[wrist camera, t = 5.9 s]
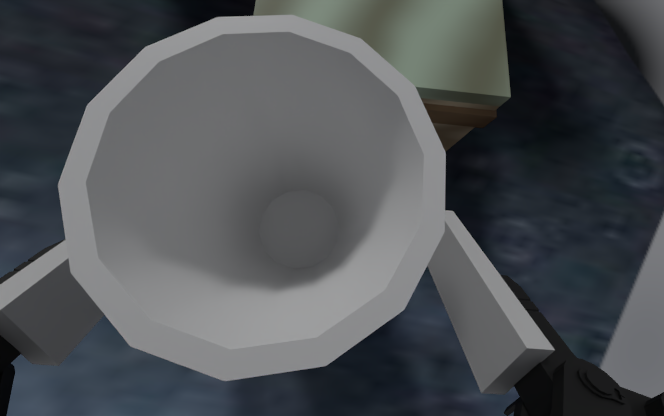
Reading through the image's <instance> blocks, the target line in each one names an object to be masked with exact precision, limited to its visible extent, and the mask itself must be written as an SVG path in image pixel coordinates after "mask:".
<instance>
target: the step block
mask: <svg viewBox="0 0 664 416" xmlns="http://www.w3.org/2000/svg"><path fill="white" fill-rule="evenodd" d="M266 15H295V16H298V17H300V18H303V19H306V20H309V21H312V22H315V23H318V24H321V25H324V26H326V27H329V28H332V29H335V30H338V31H341V32H344V33H347V34H349V35H352V36H355V37H358V38H361V39H362V40H363V41H364V42H365V43H367V44H368V45H369V46H370V47H371V48H372V49H373V50H375V51H376V52H377V53H378V54H379V55H380V56H381V57H383V58H384V59H385V60H386V61H387V62H388V63H389V64H391V65H392V66H393V67H394V68H395V69H396V70H397V71H399V72H400V73H401V74H402V75H403V76H404V77H405V78H407V79H408V80H409V81H410V82H411V83H412V84H413V85H414V86H415V87H416V89H417V91H418V94H419V96H420V98H421V100H422V102H423V104H424V107H425V109H426V111H427V113H428V115H429V117H430V120H431V122H432V124H433V126H434V128H435V130H436V133H437V135H438V137H439V139H440V141H441V143H442V146H443V148H444V150H445V152H446V151H447V150H448V149H449V148H451V147H452V146H453V145H454V144H455V143H457V142H458V141H459V140H460V139H461V138H463V137H464V136H465V135H466V134H467V133H469V132H470V131H471V130H472V129H473V128H475V127H477V128H484V127H485V126H486V125H487V124H489V123H490V122H491V121H492V120H494V119H495V118H496V117H497V113H496V109H497V108H498V107H500V106H501V105H502V104H503V103H504V102H506V101H507V100H508V99H509V98H510V97H511V93H510V82H509V71H508V60H507V49H506V37H505V26H504V15H503V4H502V0H256V3H255V9H254V15H253V16H266Z"/></svg>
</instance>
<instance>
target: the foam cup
mask: <svg viewBox="0 0 664 416" xmlns="http://www.w3.org/2000/svg"><path fill="white" fill-rule="evenodd" d="M445 175H446V152H445V150H444V148H443V146H442V143H441V141H440V139H439V137H438V135H437V133H436V130H435V128H434V126H433V124H432V122H431V120H430V117H429V115H428V113H427V111H426V109H425V107H424V104H423V102H422V100H421V98H420V96H419V94H418V91H417V89H416V87H415V86H414V85H413V84H412V83H411V82H410V81H409V80H408V79H407V78H405V77H404V76H403V75H402V74H401V73H400V72H399V71H397V70H396V69H395V68H394V67H393V66H392V65H391V64H389V63H388V62H387V61H386V60H385V59H384V58H383V57H381V56H380V55H379V54H378V53H377V52H376V51H375V50H373V49H372V48H371V47H370V46H369V45H368V44H367V43H365V42H364V41H363V40H362V39H361V38H358V37H355V36H352V35H349V34H347V33H344V32H341V31H338V30H335V29H332V28H329V27H326V26H324V25H321V24H318V23H315V22H312V21H309V20H306V19H303V18H300V17H298V16H295V15H266V16H234V17H216V18H214V19H211V20H209V21H207V22H204V23H202V24H199V25H197V26H195V27H192V28H190V29H187V30H185V31H183V32H180V33H178V34H175V35H173V36H171V37H168V38H166V39H164V40H161V41H159V42H156V43H154V44H152V45H149V46H147V47H145V48H144V49H143V50H142V51H141V52H140V53H139V54H138V55H137V56H136V57H135V58H134V59H133V60H132V61H131V62H130V63H129V64H128V65H127V66H126V67H125V68H124V69H123V70H122V71H121V72H120V73H119V74H118V75H117V76H116V77H115V78H114V79H113V80H112V81H111V82H110V83H109V84H108V85H107V86H106V87H105V88H104V89H103V90H102V91H101V92H100V93H99V94H98V95H97V96H96V97H95V98H94V99H93V100H92V101H91V102H90V103H89V104H88V105H87V107H86V110H85V112H84V115H83V118H82V120H81V123H80V126H79V129H78V131H77V134H76V137H75V139H74V142H73V145H72V148H71V150H70V153H69V156H68V158H67V161H66V164H65V167H64V169H63V172H62V175H61V177H60V180H59V183H58V189H59V196H60V203H61V210H62V217H63V224H64V231H65V238H66V244H67V251H68V258H69V265H70V272H71V274H72V275H73V276H74V278H75V279H76V280H77V281H78V283H79V284H80V285H81V286H82V287H83V289H84V290H85V291H86V292H87V294H88V295H89V296H90V297H91V298H92V300H93V301H94V302H95V303H96V305H97V306H98V307H99V308H100V310H101V311H102V312H103V313H104V314H105V316H106V317H107V318H108V319H109V321H110V322H111V323H112V324H113V326H114V327H115V328H116V329H117V330H118V332H119V333H120V334H121V335H122V337H123V338H124V339H125V340H126V342H127V343H128V344H129V345H130V346H131V347H133V348H136V349H139V350H142V351H144V352H147V353H150V354H152V355H155V356H158V357H161V358H163V359H166V360H169V361H171V362H174V363H177V364H180V365H182V366H185V367H188V368H190V369H193V370H196V371H198V372H201V373H204V374H207V375H209V376H212V377H215V378H217V379H220V380H223V381H230V380H237V379H243V378H250V377H257V376H263V375H270V374H277V373H283V372H290V371H297V370H304V369H310V368H317V367H324V366H327V365H328V364H330V363H331V362H332V361H334V360H335V359H336V358H338V357H339V356H341V355H342V354H343V353H345V352H346V351H348V350H349V349H350V348H352V347H353V346H354V345H356V344H357V343H359V342H360V341H361V340H363V339H364V338H366V337H367V336H368V335H370V334H371V333H373V332H374V331H375V330H377V329H378V328H379V327H381V326H382V325H384V324H385V323H386V322H388V321H389V320H391V319H392V318H393V317H395V316H396V315H398V314H399V313H400V312H402V311H403V310H404V309H405V307H406V305H407V303H408V301H409V300H410V298H411V296H412V294H413V292H414V290H415V288H416V286H417V284H418V282H419V280H420V278H421V276H422V275H423V273H424V271H425V269H426V267H427V265H428V263H429V261H430V259H431V257H432V255H433V253H434V251H435V250H436V248H437V246H438V244H439V242H440V240H441V238H442V236H443V234H444V232H445Z"/></svg>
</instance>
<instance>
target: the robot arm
mask: <svg viewBox="0 0 664 416" xmlns="http://www.w3.org/2000/svg"><path fill="white" fill-rule="evenodd" d="M427 266H428V268H429V271H430V273H431V275H432V278H433V280H434V282H435V285H436V287H437V289H438V292H439V294H440V297H441V299H442V301H443V304H444V306H445V308H446V311H447V313H448V315H449V318H450V320H451V322H452V325H453V327H454V329H455V332H456V334H457V337H458V339H459V341H460V344H461V346H462V348H463V351H464V353H465V355H466V358H467V360H468V362H469V365H470V367H471V370H472V372H473V374H474V377H475V379H476V381H477V384H478V386H479V388H480V391H481V393H489V394H506V393H507V392H508V391H509V390H510V389H511V388H512V387H514V386H515V388H516V390H517V392H518V394H519V396H520V397H519V398H518V399H517V400H516V401H514V402H513V403H512V404H511V405H509V406H508V407H507V408H506V410H505V412H504V414H505V415H507V416H508V415H510V414H511V413H512V412H514V416H664V392H663V393H661V394H660V395H658V396H656V397H654V398H649V397H646V396H644V395H641V394H638V393H636V392H633V391H630V390H628V389H625V388H622V387H620V386H619V385H618V384H617V383H616V382H615V381H614V380H613V379H612V378H611V377H610V376H609V375H608V374H607V373H605V372H604V371H603V370H601V369H600V368H598V367H597V366H595V365H594V364H592V363H589V362H587V361H585V360H583V359H578V358H577V357H576V356H575V355H574V354H573V353H572V352H571V350H570V349H569V348H568V347H567V345H566V344H565V343H564V341H563V340H562V339H561V338H560V336H559V335H558V334H557V333H556V331H555V330H554V329H553V327H552V326H551V325H550V324H549V322H548V321H547V320H546V318H545V317H544V316H543V315H542V313H540V312H539V311H538V308H537V307H536V306H535V304H534V303H533V302H531V301H530V298H529V297H528V296H527V294H526V293H525V292H524V290H523V289H522V288H521V287H520V286H519V285H518V284H517V283H515V282H514V281H513V280H512V279H511V278H509V277H508V276H505V275H500V274H499V273H498V272H497V270H496V269H495V268H494V266H493V265H492V263H491V262H490V261H489V259H488V258H487V257H486V255H485V254H484V253H483V251H482V250H481V248H480V247H479V246H478V244H477V243H476V242H475V240H474V239H473V238H472V236H471V235H470V233H469V232H468V231H467V229H466V228H465V227H464V225H463V224H462V223H461V221H460V220H459V218H458V217H457V216H456V214H455V213H454V212H453V211H448V210H445V232H444V234H443V236H442V238H441V240H440V242H439V244H438V246H437V248H436V250H435V251H434V253H433V255H432V257H431V259H430V261H429V263H428V265H427ZM103 316H104V313H103V312H102V311H101V310H100V308H99V307H98V306H97V305H96V303H95V302H94V301H93V300H92V298H91V297H90V296H89V295H88V294H87V292H86V291H85V290H84V289H83V287H82V286H81V285H80V284H79V283H78V281H77V280H76V279H75V278H74V276H73V275H72V274H71V272H70V265H69V258H68V251H67V244H66V239H65V240H62V241H60V242H58V243H56V244H53V245H51V246H49V247H47V248H45V249H43V250H42V251H40V252H39V253H37V254H36V255H34V256H33V257H31V258H30V259H28V262H24V263H22V264H21V265H19V266H18V267H16V268H15V269H14V271H13V272H9V273H7V274H6V275H4V276H3V277H1V278H0V416H6V415H7V410H8V405H9V400H10V395H11V390H12V385H13V380H14V375H15V369H14V366H13V365H12V364H11V362H12V361H13V360H14V359H16V358H17V357H18V356H19V355H20V354H21V355H23V356H24V357H25V358H26V359H27V360H28V361H30V362H31V363H32V364H41V365H57V366H59V365H60V364H61V363H62V362H63V361H64V359H65V358H66V357H67V356H68V355H69V354H70V353H71V352H72V350H73V349H74V348H75V347H76V346H77V345H78V344H79V343H80V341H81V340H82V339H83V338H84V337H85V336H86V335H87V334H88V332H89V331H90V330H91V329H92V328H93V327H94V326H95V325H96V323H97V322H98V321H99V320H100V319H101V318H102V317H103Z"/></svg>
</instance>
